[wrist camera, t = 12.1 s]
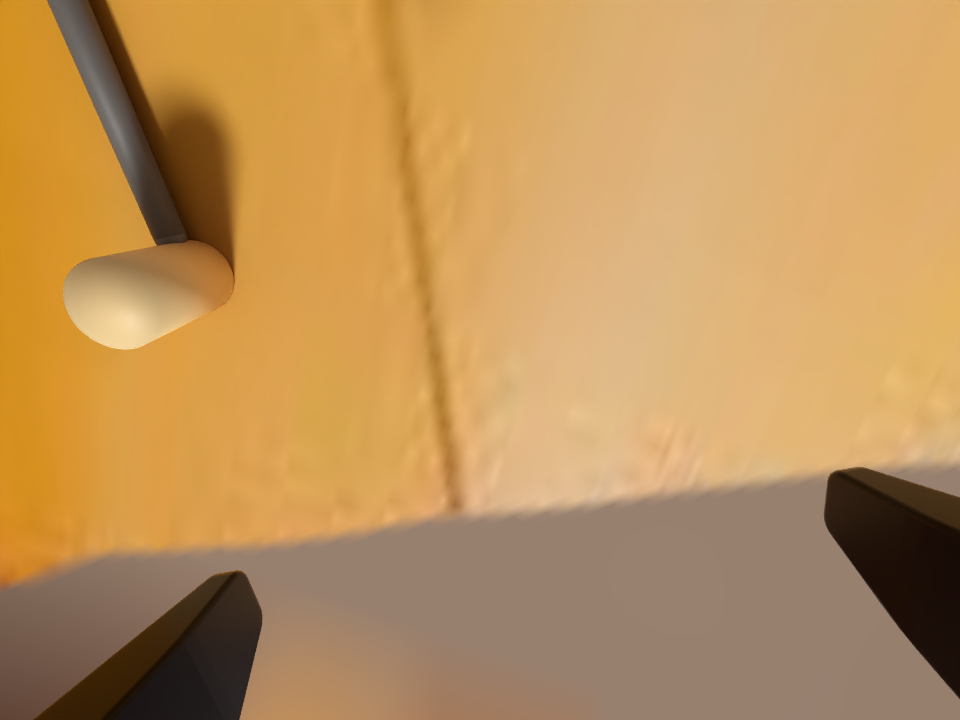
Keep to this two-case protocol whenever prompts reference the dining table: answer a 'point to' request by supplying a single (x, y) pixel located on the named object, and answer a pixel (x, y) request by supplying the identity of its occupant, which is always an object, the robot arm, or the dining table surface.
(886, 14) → the dining table surface
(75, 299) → the mallet
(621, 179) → the dining table surface
